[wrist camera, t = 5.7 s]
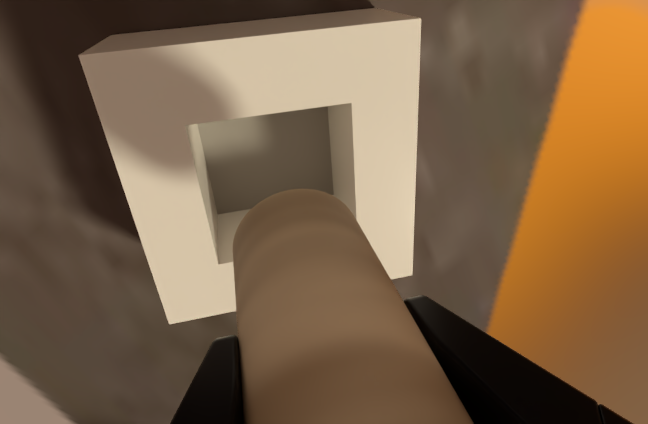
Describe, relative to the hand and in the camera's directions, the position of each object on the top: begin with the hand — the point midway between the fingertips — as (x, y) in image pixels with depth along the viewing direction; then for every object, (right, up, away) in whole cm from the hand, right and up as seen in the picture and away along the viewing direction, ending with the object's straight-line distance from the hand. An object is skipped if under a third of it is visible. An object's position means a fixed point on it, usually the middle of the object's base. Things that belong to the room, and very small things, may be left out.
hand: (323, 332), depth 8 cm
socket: (-2, +5, +9) cm, 10 cm away
